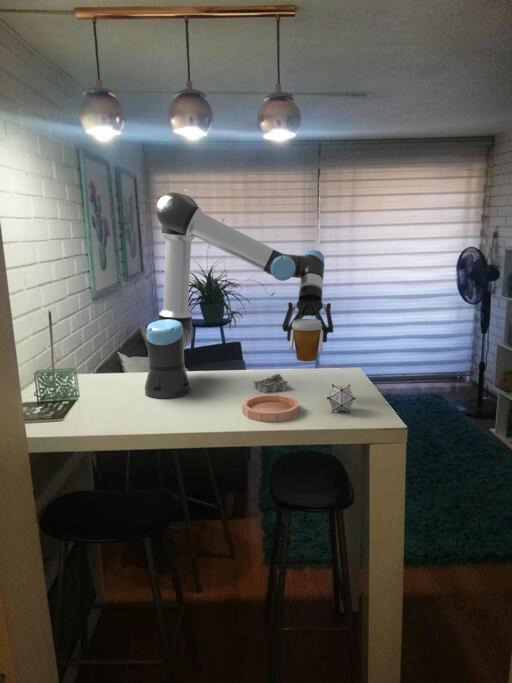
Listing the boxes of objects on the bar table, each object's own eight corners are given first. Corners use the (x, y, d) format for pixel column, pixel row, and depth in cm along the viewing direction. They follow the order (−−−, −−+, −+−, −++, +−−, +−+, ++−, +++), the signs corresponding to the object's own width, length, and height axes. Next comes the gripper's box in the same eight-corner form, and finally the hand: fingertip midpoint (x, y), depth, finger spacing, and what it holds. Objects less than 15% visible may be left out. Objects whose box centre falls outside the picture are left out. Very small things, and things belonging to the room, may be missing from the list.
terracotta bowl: (234, 407, 154) (234, 399, 154) (282, 399, 161) (282, 391, 161) (257, 425, 140) (257, 416, 139) (308, 415, 147) (309, 407, 146)
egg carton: (280, 384, 178) (281, 373, 177) (289, 390, 171) (289, 379, 170) (252, 387, 174) (251, 376, 173) (259, 394, 167) (259, 382, 166)
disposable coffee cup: (321, 355, 163) (322, 318, 161) (322, 363, 154) (323, 324, 152) (291, 355, 164) (291, 318, 162) (291, 362, 155) (291, 324, 152)
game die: (333, 422, 151) (316, 393, 153) (356, 409, 153) (339, 380, 155) (343, 418, 143) (324, 387, 144) (367, 403, 145) (348, 373, 147)
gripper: (343, 298, 168) (341, 357, 156) (280, 297, 172) (272, 354, 160) (343, 284, 162) (341, 344, 150) (277, 283, 166) (270, 342, 154)
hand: (305, 349), depth 155 cm, fingers closed on disposable coffee cup, 8 cm apart
